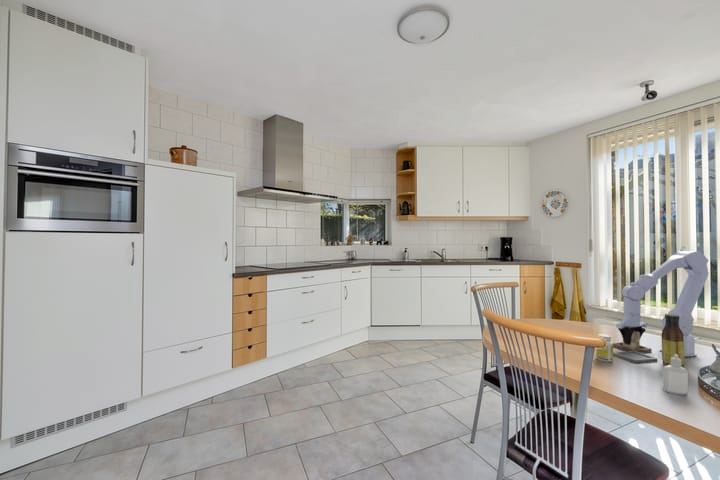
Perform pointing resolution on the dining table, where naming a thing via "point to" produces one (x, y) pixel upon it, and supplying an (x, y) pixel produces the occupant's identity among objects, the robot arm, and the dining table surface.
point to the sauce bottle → (672, 340)
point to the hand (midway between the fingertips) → (631, 343)
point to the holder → (641, 350)
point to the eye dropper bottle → (675, 377)
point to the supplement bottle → (605, 350)
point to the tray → (635, 356)
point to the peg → (634, 341)
